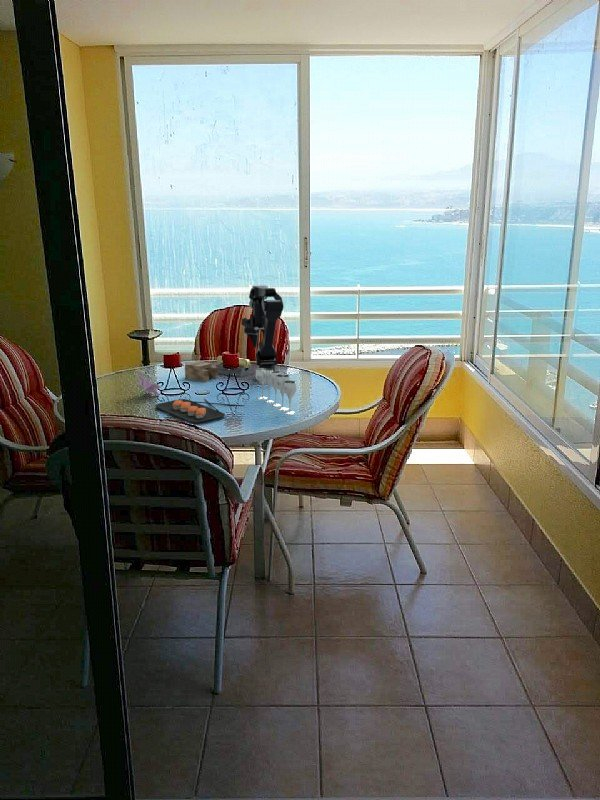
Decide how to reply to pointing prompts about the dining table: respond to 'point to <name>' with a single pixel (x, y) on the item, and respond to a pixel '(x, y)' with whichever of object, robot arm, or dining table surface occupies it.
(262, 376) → the goblet set
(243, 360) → the axle
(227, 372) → the v block
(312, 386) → the dining table surface
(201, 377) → the wooden block
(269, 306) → the robot arm
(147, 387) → the lily
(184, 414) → the sushi plate
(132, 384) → the dining table surface
